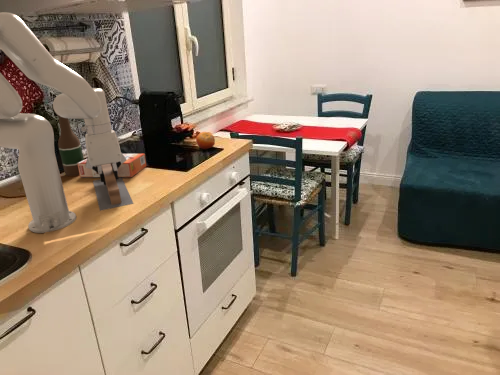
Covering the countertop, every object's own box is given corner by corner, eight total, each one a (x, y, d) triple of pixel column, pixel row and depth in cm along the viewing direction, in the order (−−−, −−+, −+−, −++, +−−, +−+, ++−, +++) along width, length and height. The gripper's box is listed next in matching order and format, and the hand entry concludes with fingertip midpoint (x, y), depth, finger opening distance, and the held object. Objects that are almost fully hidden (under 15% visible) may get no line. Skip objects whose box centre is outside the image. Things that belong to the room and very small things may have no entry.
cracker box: (129, 161, 148) (76, 162, 152) (131, 177, 150) (79, 178, 154) (145, 152, 161) (95, 153, 165) (147, 167, 163) (98, 167, 167)
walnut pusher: (128, 201, 130) (125, 187, 127) (104, 206, 127) (101, 192, 125) (116, 167, 149) (113, 155, 147) (96, 171, 147) (93, 159, 144)
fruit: (205, 140, 189) (209, 127, 184) (215, 152, 186) (219, 138, 180) (190, 144, 184) (194, 130, 179) (200, 156, 181) (203, 142, 175)
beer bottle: (64, 173, 162) (49, 112, 154) (85, 169, 166) (72, 109, 157) (66, 178, 156) (50, 115, 147) (87, 174, 159) (74, 112, 150)
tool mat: (133, 204, 128) (133, 203, 128) (100, 212, 124) (99, 210, 124) (121, 176, 154) (120, 175, 154) (93, 182, 150) (92, 180, 150)
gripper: (72, 135, 125) (85, 191, 132) (126, 126, 131) (136, 181, 138) (71, 130, 132) (83, 184, 138) (123, 122, 137) (133, 174, 144)
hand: (110, 182), depth 138 cm, fingers closed on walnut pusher, 2 cm apart
